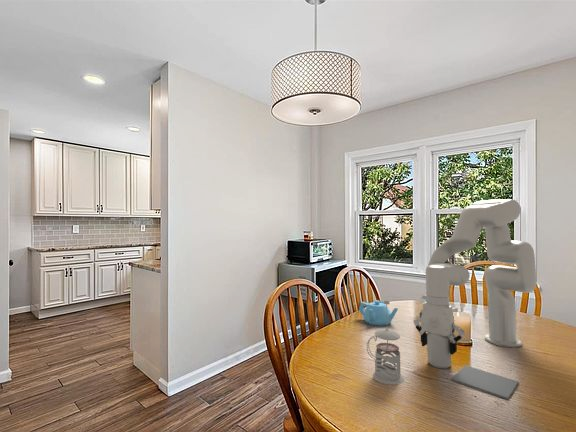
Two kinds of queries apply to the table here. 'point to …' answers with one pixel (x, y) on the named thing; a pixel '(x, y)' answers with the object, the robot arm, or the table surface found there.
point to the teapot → (377, 313)
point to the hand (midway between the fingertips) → (438, 349)
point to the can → (438, 350)
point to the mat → (486, 382)
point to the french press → (387, 357)
